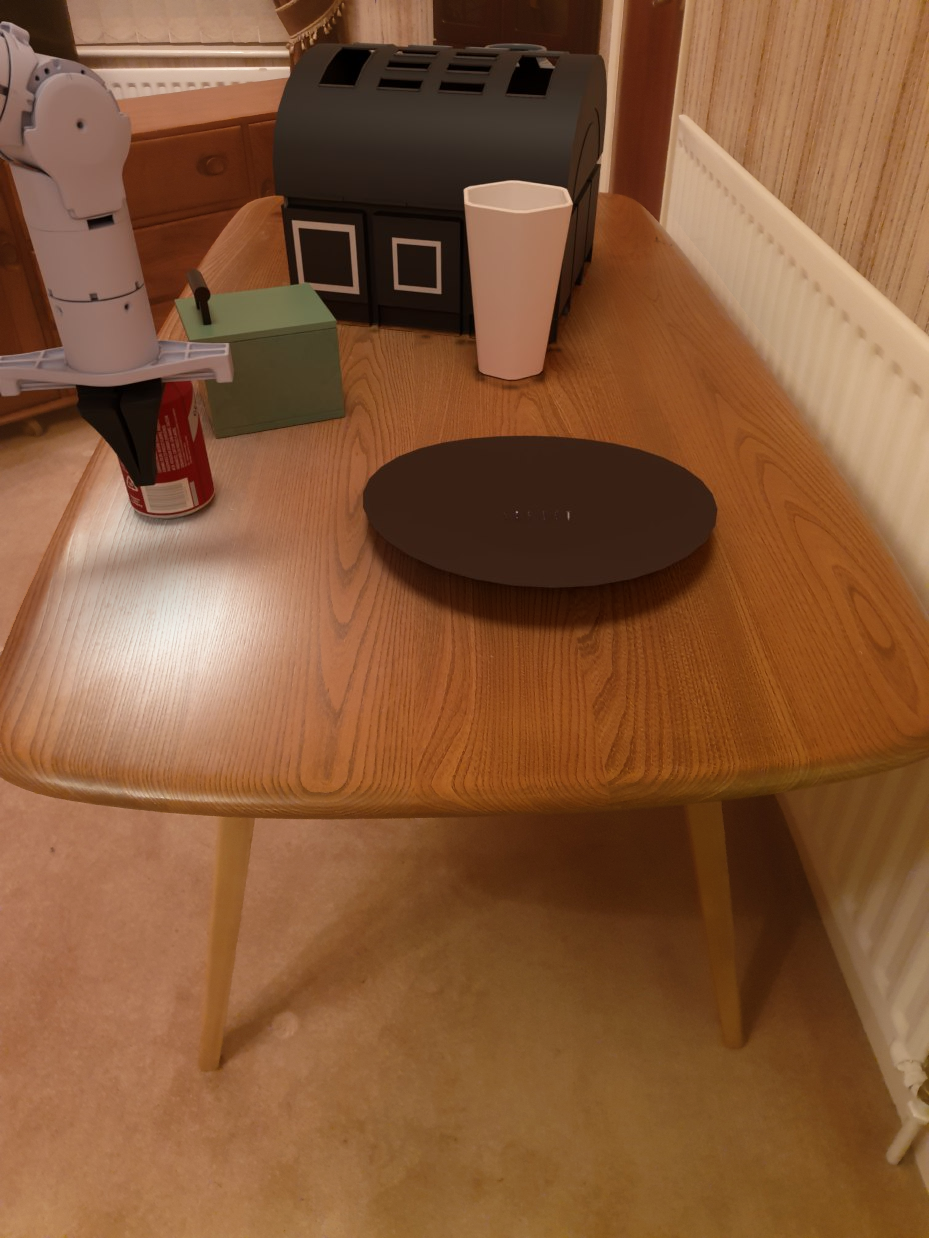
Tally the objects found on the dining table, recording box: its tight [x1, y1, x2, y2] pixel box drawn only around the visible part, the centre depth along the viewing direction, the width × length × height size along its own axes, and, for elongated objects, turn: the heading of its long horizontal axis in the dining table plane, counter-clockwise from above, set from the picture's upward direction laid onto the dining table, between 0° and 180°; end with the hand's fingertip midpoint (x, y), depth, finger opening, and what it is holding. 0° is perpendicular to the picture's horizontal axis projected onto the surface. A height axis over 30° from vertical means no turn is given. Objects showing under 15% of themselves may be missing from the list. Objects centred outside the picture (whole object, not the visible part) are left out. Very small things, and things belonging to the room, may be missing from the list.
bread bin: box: [196, 327, 346, 439], centre depth 83 cm, size 12×10×9 cm
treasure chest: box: [272, 41, 608, 345], centre depth 104 cm, size 32×32×26 cm
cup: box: [464, 181, 573, 381], centre depth 88 cm, size 11×10×17 cm
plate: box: [362, 435, 718, 589], centre depth 69 cm, size 28×28×4 cm
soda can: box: [116, 380, 216, 520], centre depth 68 cm, size 7×7×12 cm
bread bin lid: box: [174, 268, 338, 343], centre depth 79 cm, size 13×10×4 cm
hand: (146, 479), depth 62 cm, fingers closed
